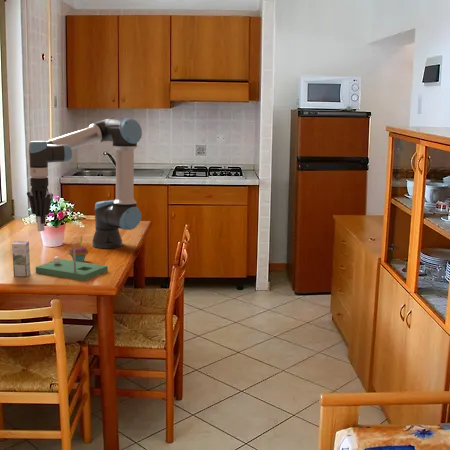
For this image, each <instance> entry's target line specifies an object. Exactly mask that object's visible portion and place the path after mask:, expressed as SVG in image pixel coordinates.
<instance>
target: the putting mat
mask: <svg viewBox="0 0 450 450" xmlns="http://www.w3.org/2000/svg"><path fill="white" fill-rule="evenodd" d="M72 248H73V257H74V261H73V260H70V259H63V258H61V262H60V264H54V263H53V260H52V261H50V262H47V263H43V264H41V265H38V266H35V273H36V274H42V275H48V276H54V277H59V278H65V279H72V280H77V281H83V282H84V281H88V280H90V279H93V278H95V277H97V276H100V275H103V274H105V273H106V274H107V273H109V272H108V270H109V268H108V267H109V266H108V265H102V264H97V263H90V262H85V261H84V262H77V261H76V258H75V250H77V249H80V242H77V243H73V244H72Z"/></svg>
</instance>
